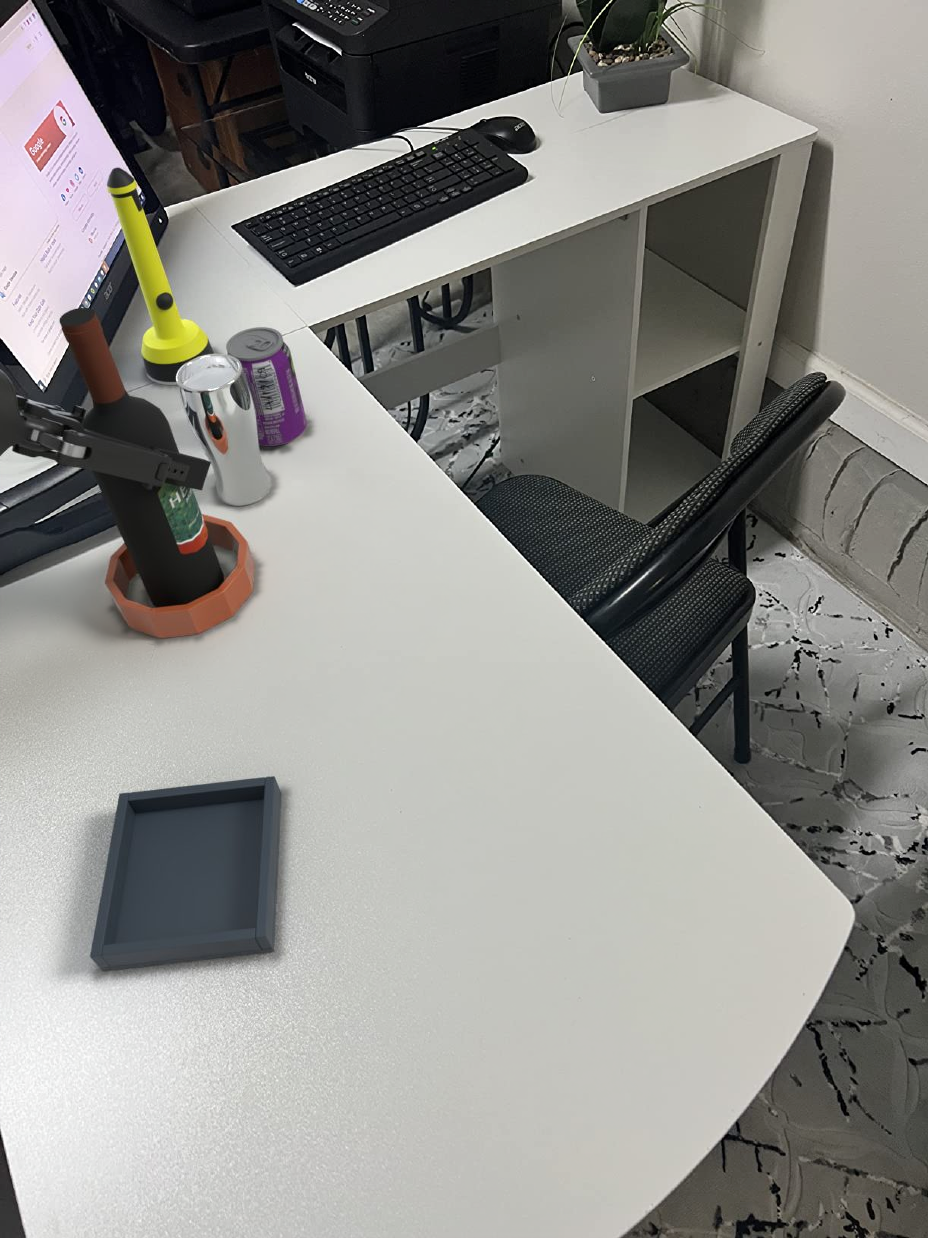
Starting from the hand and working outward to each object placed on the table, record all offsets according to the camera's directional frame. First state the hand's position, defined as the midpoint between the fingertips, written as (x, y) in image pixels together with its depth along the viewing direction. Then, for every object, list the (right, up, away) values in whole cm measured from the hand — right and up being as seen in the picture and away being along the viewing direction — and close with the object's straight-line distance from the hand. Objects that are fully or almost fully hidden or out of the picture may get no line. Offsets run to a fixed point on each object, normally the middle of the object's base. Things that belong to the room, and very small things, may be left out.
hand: (171, 460), depth 89 cm
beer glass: (+3, 0, +18) cm, 18 cm away
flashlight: (-10, +18, +36) cm, 41 cm away
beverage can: (+5, +7, +25) cm, 26 cm away
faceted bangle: (-1, -11, +8) cm, 14 cm away
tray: (+6, -35, -14) cm, 38 cm away
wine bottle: (-1, -11, +8) cm, 14 cm away
